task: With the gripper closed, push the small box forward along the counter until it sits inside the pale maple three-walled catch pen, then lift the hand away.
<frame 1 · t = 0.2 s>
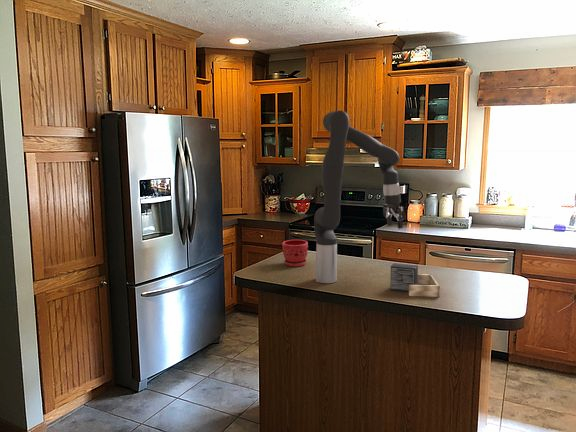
hand: (395, 226, 219), 22 cm above the countertop, tool pointing down, fingers open, 8 cm apart
plant pot: (295, 265, 240), on the countertop
catch pen: (419, 289, 196), on the countertop
small box: (403, 289, 197), on the countertop
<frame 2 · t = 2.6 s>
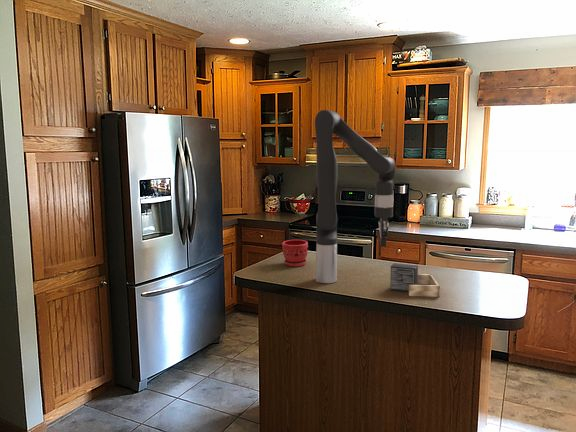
hand: (383, 246, 195), 18 cm above the countertop, tool pointing down, fingers closed
nothing on the countertop moved.
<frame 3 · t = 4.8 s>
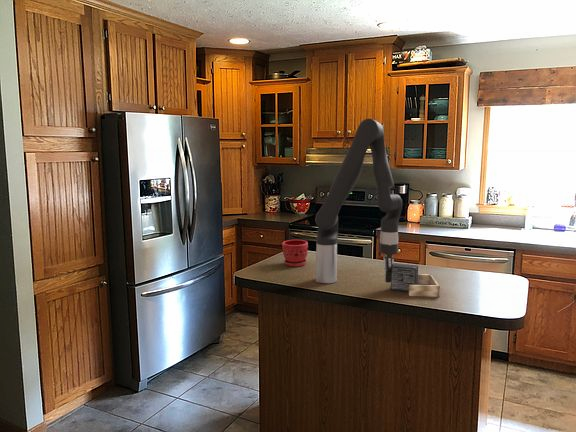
hand: (388, 281, 197), 3 cm above the countertop, tool pointing down, fingers closed
small box: (404, 289, 197), on the countertop, touching gripper
everything else where it was.
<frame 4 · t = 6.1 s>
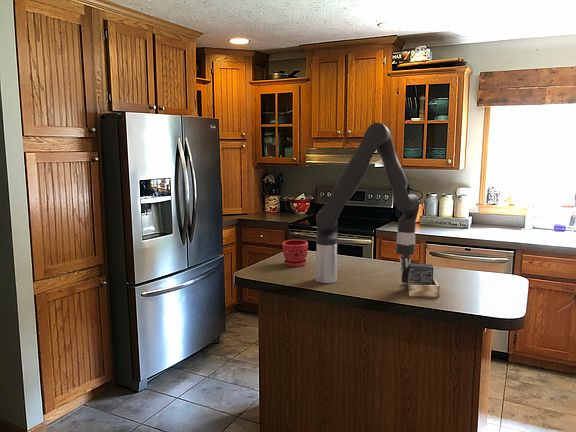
hand: (404, 282, 196), 3 cm above the countertop, tool pointing down, fingers closed
small box: (419, 289, 197), on the countertop, touching catch pen, gripper, hand
everything else where it was.
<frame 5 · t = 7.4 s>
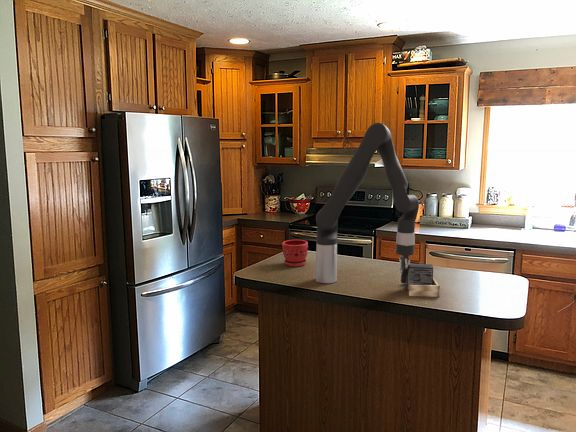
hand: (403, 282, 197), 3 cm above the countertop, tool pointing down, fingers closed
small box: (419, 289, 197), on the countertop
everything else where it was.
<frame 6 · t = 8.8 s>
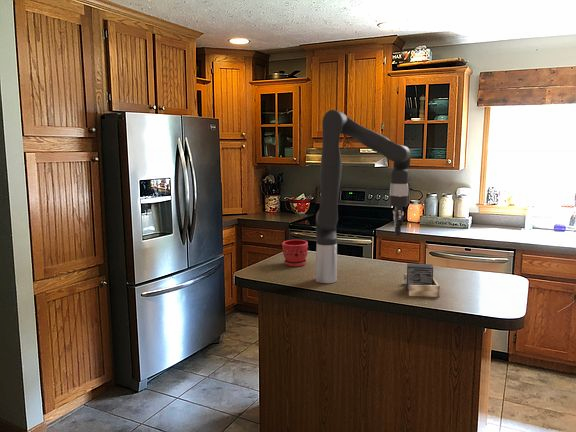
hand: (397, 235, 194), 23 cm above the countertop, tool pointing down, fingers closed
nothing on the countertop moved.
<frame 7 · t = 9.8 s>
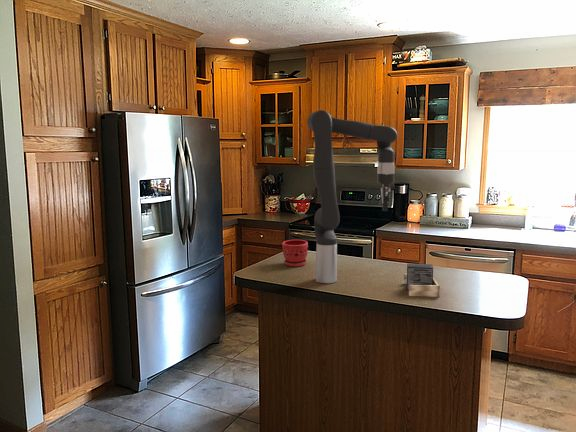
hand: (385, 211, 210), 31 cm above the countertop, tool pointing down, fingers closed
nothing on the countertop moved.
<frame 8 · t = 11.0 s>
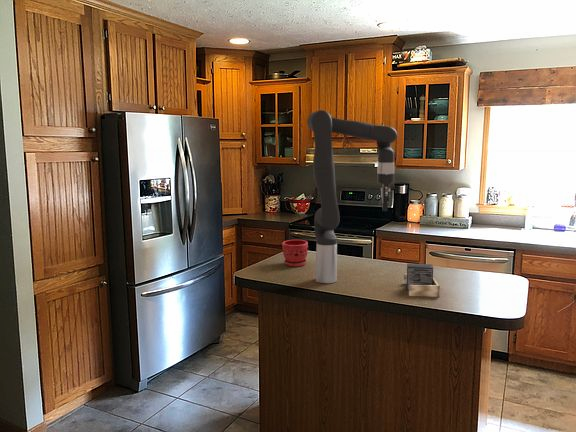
hand: (384, 210, 211), 31 cm above the countertop, tool pointing down, fingers closed
nothing on the countertop moved.
at the end: small box inside the target area (1.2 cm from its centre), on the countertop; small box tilted 0° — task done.
